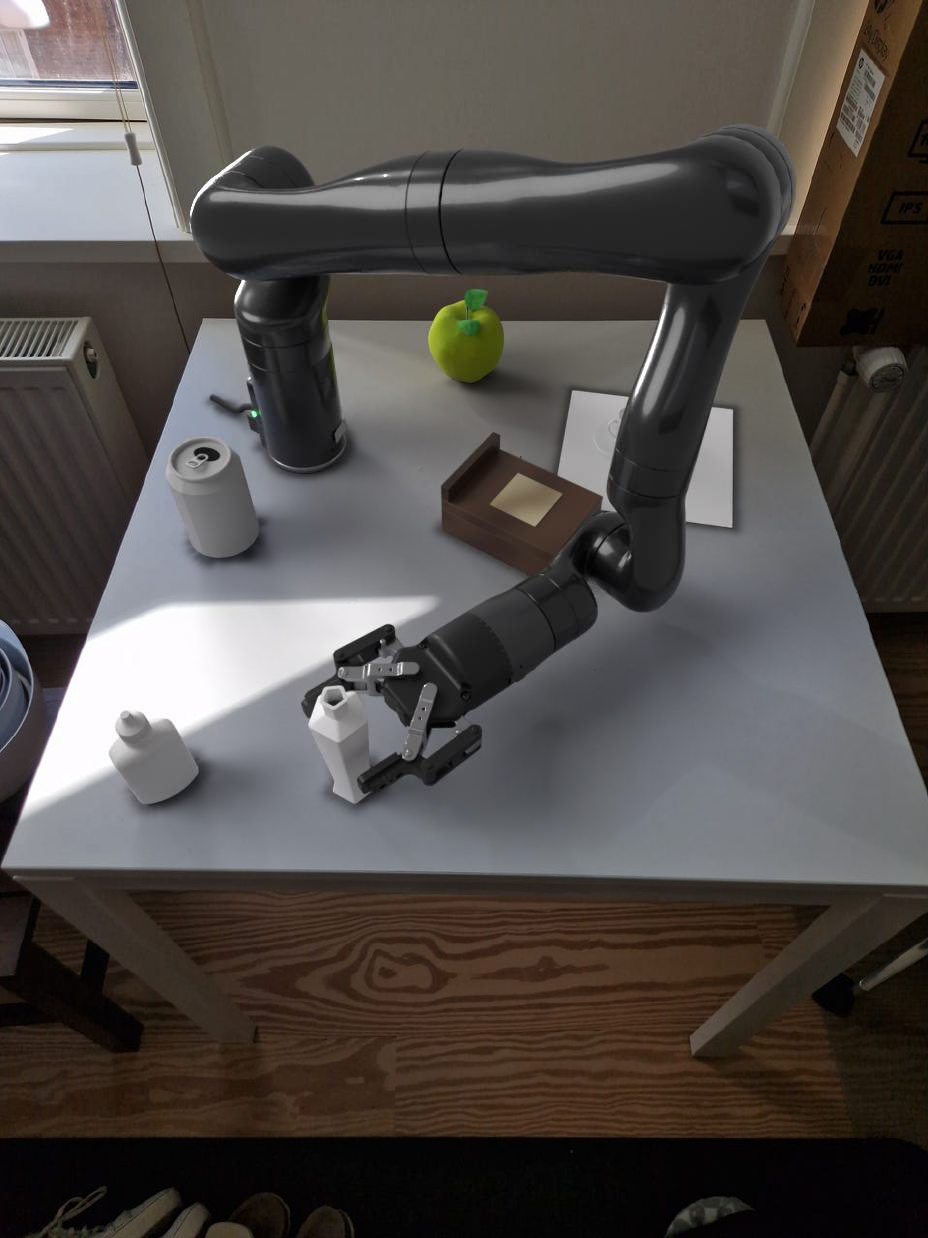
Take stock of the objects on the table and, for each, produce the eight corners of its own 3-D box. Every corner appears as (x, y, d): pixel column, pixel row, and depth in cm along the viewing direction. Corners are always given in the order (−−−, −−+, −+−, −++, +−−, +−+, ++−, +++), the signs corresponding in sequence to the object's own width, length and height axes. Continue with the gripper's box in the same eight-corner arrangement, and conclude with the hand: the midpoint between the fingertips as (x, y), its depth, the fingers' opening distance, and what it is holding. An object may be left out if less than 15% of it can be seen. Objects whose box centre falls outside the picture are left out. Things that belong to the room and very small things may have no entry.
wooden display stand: (441, 530, 94) (440, 485, 88) (491, 477, 99) (493, 431, 93) (551, 587, 89) (557, 543, 84) (597, 528, 94) (606, 482, 89)
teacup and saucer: (668, 424, 104) (674, 397, 101) (664, 469, 100) (671, 443, 96) (596, 415, 105) (600, 388, 102) (589, 459, 100) (594, 433, 97)
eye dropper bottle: (138, 762, 77) (91, 694, 68) (201, 756, 78) (163, 687, 68) (133, 807, 75) (84, 743, 65) (198, 800, 75) (158, 735, 66)
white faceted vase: (373, 811, 75) (355, 729, 63) (325, 802, 75) (298, 718, 63) (386, 764, 77) (372, 676, 65) (340, 756, 78) (317, 667, 66)
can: (274, 524, 95) (252, 442, 85) (236, 572, 91) (209, 492, 81) (217, 503, 96) (190, 421, 87) (178, 549, 92) (144, 468, 83)
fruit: (508, 356, 112) (512, 287, 104) (492, 402, 107) (495, 333, 99) (441, 346, 113) (439, 277, 105) (422, 390, 108) (418, 321, 100)
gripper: (440, 570, 75) (279, 663, 69) (545, 680, 68) (376, 794, 62) (442, 620, 81) (293, 710, 75) (538, 726, 74) (383, 833, 69)
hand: (331, 748), depth 69 cm, fingers open, 8 cm apart
